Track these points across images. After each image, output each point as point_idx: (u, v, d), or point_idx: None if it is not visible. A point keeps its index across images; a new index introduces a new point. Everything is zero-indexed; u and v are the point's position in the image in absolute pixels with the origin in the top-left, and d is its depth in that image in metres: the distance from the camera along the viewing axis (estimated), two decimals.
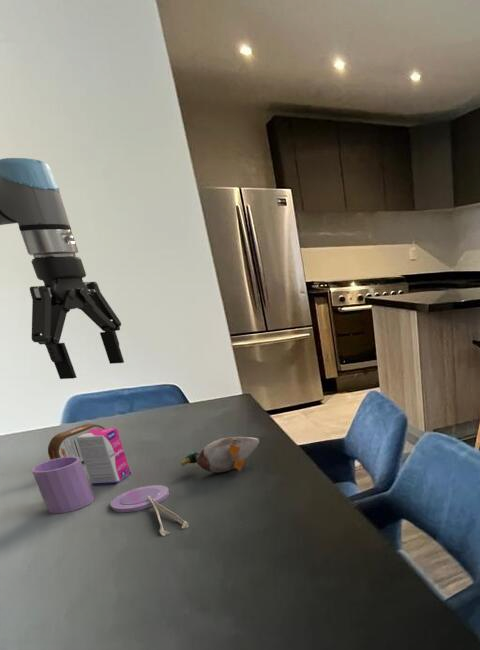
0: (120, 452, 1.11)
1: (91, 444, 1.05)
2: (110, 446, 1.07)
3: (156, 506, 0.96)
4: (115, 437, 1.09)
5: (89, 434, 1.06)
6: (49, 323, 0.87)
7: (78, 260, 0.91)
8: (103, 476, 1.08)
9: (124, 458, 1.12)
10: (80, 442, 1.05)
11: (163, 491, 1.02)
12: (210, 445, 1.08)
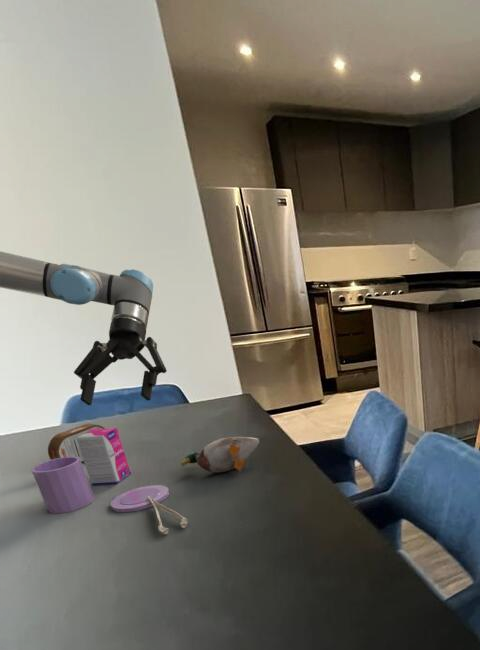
0: (120, 452, 1.11)
1: (91, 444, 1.05)
2: (110, 446, 1.07)
3: (156, 505, 0.96)
4: (115, 437, 1.09)
5: (89, 434, 1.06)
6: None
7: None
8: (103, 476, 1.08)
9: (124, 458, 1.12)
10: (80, 442, 1.05)
11: (163, 491, 1.02)
12: (210, 445, 1.08)
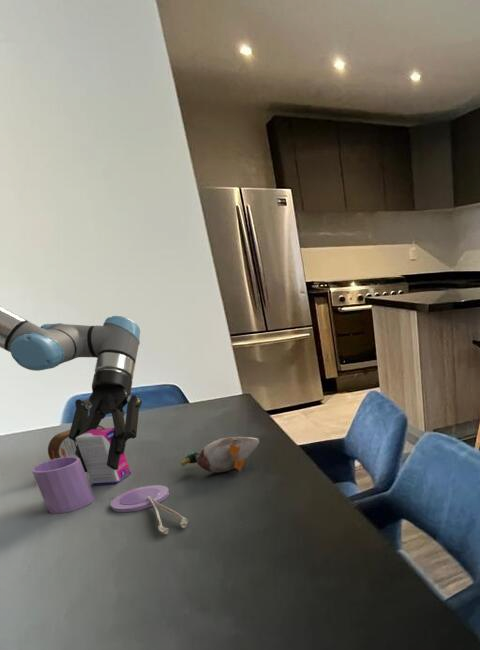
0: None
1: (91, 444, 1.05)
2: (109, 446, 1.07)
3: (156, 505, 0.96)
4: (115, 437, 1.09)
5: (88, 434, 1.06)
6: None
7: None
8: (103, 476, 1.08)
9: (124, 458, 1.12)
10: (79, 442, 1.05)
11: (163, 491, 1.02)
12: (210, 445, 1.08)
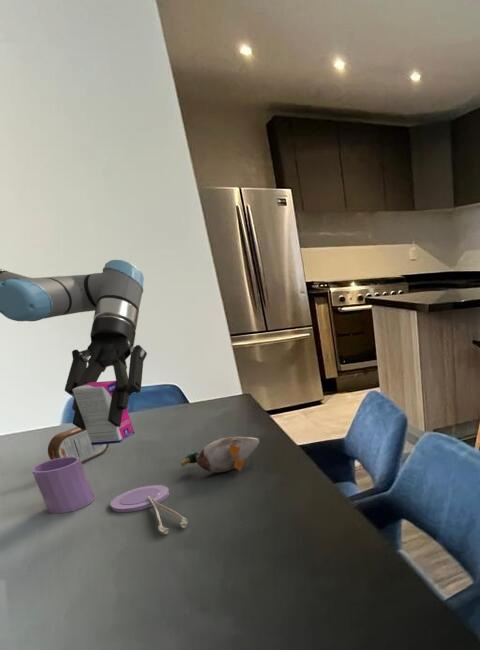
0: None
1: (90, 397, 0.93)
2: None
3: (156, 505, 0.96)
4: (117, 390, 0.97)
5: (87, 386, 0.94)
6: None
7: None
8: (104, 435, 0.96)
9: (127, 415, 1.00)
10: (77, 394, 0.93)
11: (163, 491, 1.02)
12: (210, 445, 1.08)
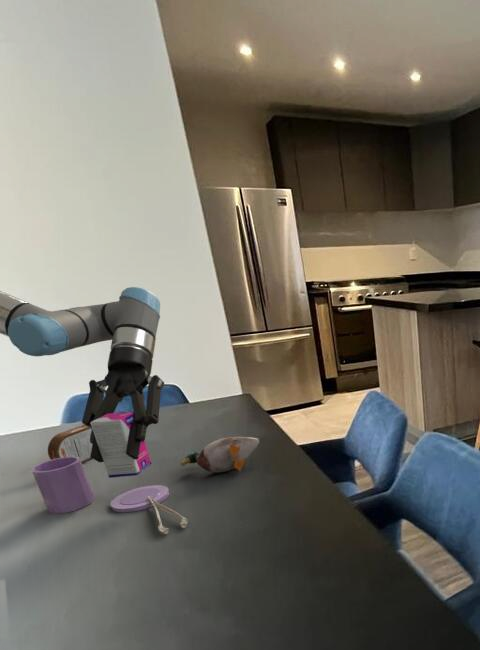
0: None
1: (108, 430, 0.92)
2: None
3: (156, 505, 0.96)
4: (135, 422, 0.96)
5: (105, 418, 0.93)
6: None
7: None
8: (122, 467, 0.95)
9: (144, 446, 0.99)
10: (95, 428, 0.92)
11: (163, 491, 1.02)
12: (210, 445, 1.08)
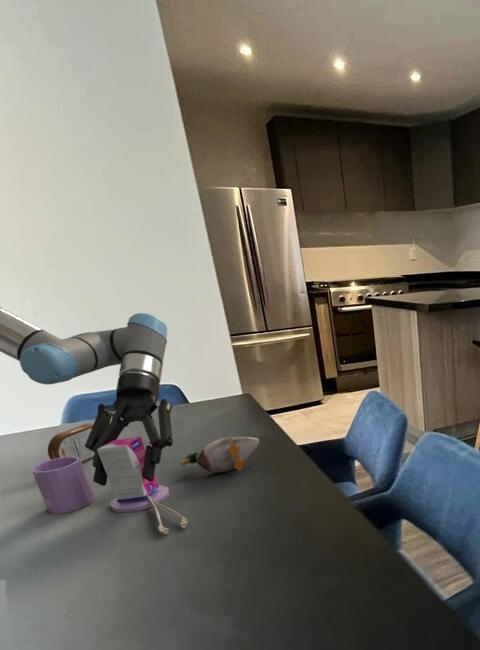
0: None
1: (114, 456, 0.94)
2: (135, 457, 0.96)
3: (156, 505, 0.96)
4: (140, 446, 0.98)
5: (111, 445, 0.95)
6: None
7: None
8: (130, 491, 0.97)
9: None
10: (102, 454, 0.94)
11: (163, 491, 1.02)
12: (210, 445, 1.08)
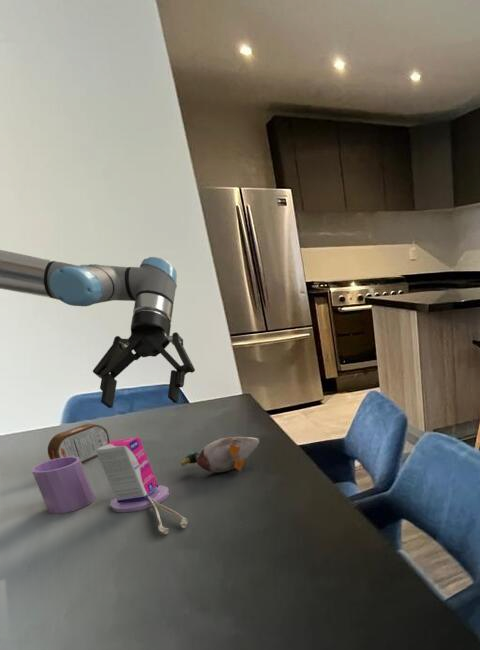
0: (145, 463, 0.99)
1: (113, 456, 0.94)
2: (134, 457, 0.96)
3: (156, 505, 0.96)
4: (139, 447, 0.98)
5: (110, 445, 0.95)
6: None
7: None
8: (129, 492, 0.97)
9: (150, 470, 1.01)
10: (101, 455, 0.94)
11: (163, 491, 1.02)
12: (210, 445, 1.08)
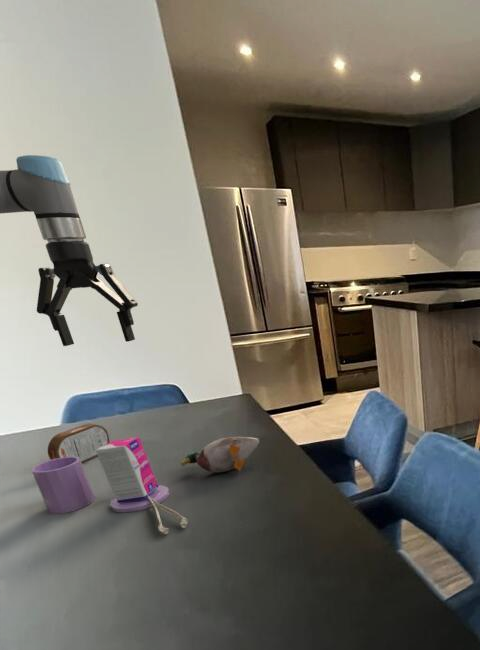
0: (145, 463, 0.99)
1: (113, 456, 0.94)
2: (134, 457, 0.96)
3: (156, 505, 0.96)
4: (139, 447, 0.98)
5: (109, 445, 0.95)
6: None
7: None
8: (129, 492, 0.97)
9: (150, 470, 1.01)
10: (100, 455, 0.94)
11: (163, 491, 1.02)
12: (210, 445, 1.08)
